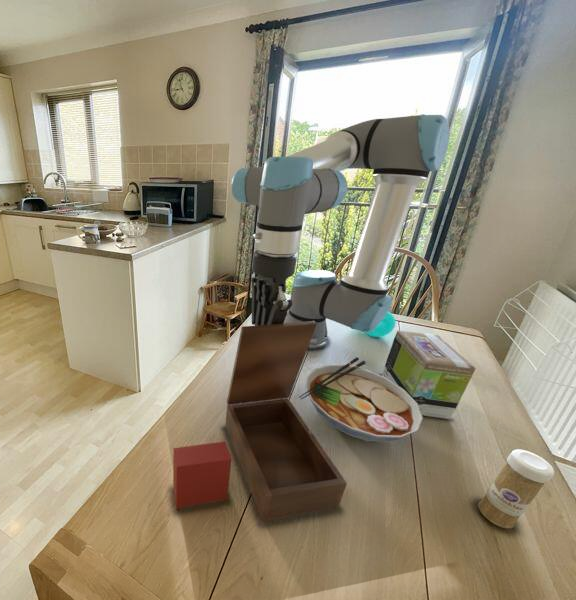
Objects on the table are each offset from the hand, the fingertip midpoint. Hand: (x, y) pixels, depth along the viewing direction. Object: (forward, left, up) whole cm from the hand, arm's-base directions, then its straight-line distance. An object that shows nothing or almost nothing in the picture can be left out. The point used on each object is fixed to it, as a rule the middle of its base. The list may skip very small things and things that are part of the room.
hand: (259, 361), depth 65 cm
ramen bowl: (+4, +23, -17) cm, 29 cm away
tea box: (-1, +44, -17) cm, 47 cm away
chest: (+12, 0, -17) cm, 20 cm away
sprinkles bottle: (+27, +33, -17) cm, 46 cm away
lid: (+4, 0, +1) cm, 4 cm away
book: (+16, -16, -17) cm, 28 cm away
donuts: (-32, +57, -17) cm, 68 cm away
